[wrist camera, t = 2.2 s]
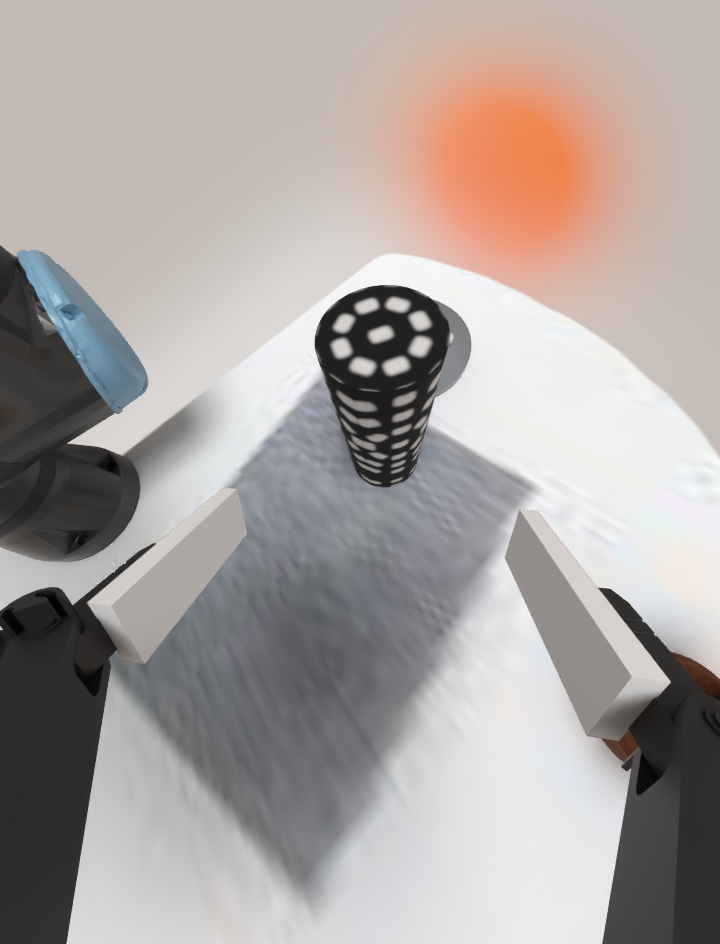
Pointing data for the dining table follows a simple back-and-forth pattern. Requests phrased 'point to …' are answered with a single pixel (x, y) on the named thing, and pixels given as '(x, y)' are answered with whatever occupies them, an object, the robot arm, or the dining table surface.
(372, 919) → the dining table surface
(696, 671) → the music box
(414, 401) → the white-spotted black cylinder
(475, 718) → the dining table surface
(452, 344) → the stub plate
